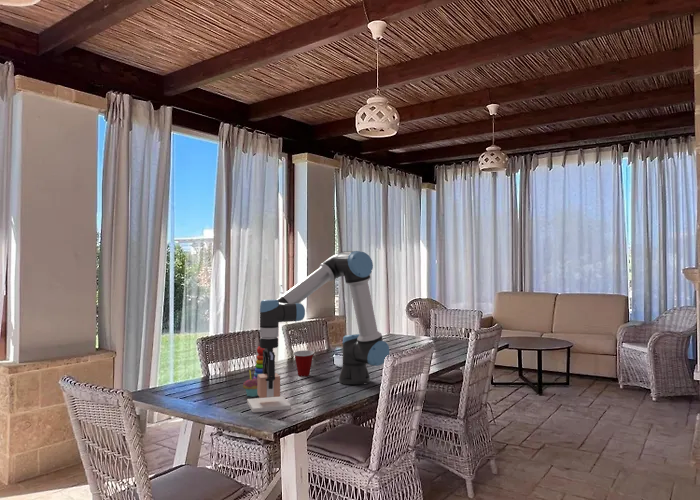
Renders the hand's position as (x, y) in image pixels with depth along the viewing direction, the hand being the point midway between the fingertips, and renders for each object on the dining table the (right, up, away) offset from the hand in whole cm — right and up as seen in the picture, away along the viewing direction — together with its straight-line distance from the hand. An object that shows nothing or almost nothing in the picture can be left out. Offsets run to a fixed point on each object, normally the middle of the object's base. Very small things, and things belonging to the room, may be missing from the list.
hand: (268, 394), depth 212 cm
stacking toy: (-9, -6, +37) cm, 38 cm away
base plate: (0, -5, 0) cm, 5 cm away
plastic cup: (+9, -6, +57) cm, 58 cm away
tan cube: (0, 0, 0) cm, 0 cm away
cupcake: (-9, -5, +17) cm, 20 cm away
